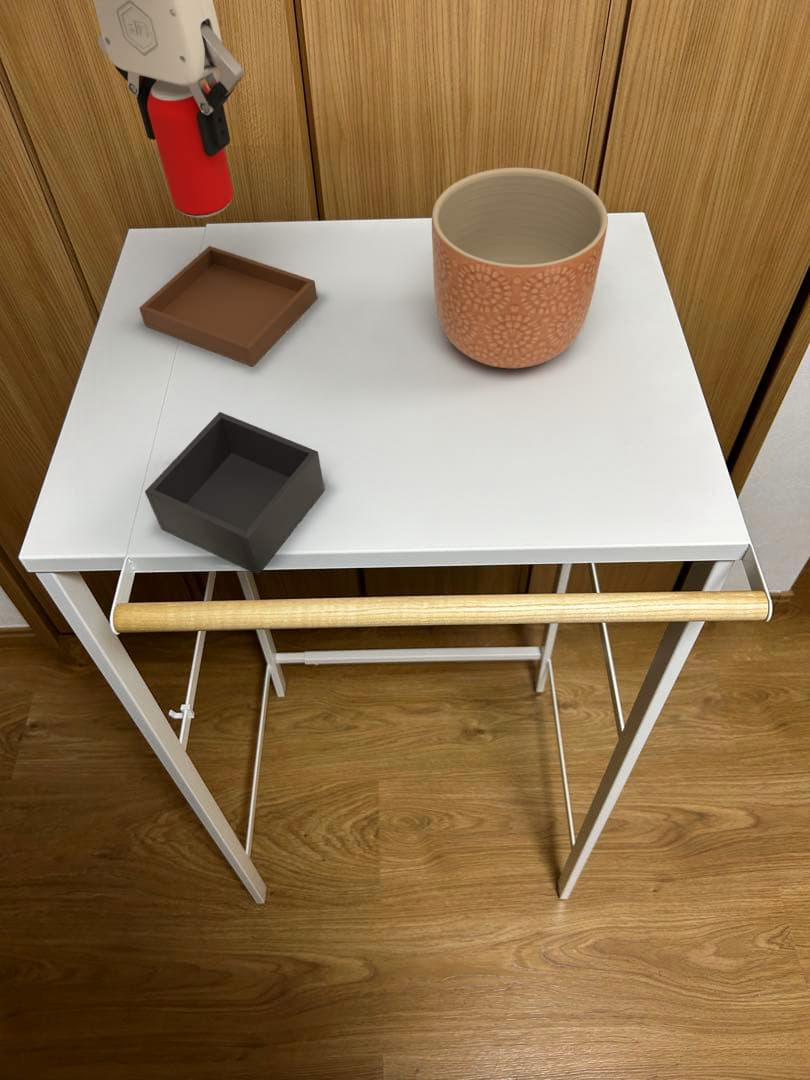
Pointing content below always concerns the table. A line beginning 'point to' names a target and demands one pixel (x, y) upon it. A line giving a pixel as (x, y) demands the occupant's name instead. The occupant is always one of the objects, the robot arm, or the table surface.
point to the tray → (229, 305)
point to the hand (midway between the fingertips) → (189, 139)
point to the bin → (237, 491)
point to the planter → (515, 263)
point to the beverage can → (187, 153)
